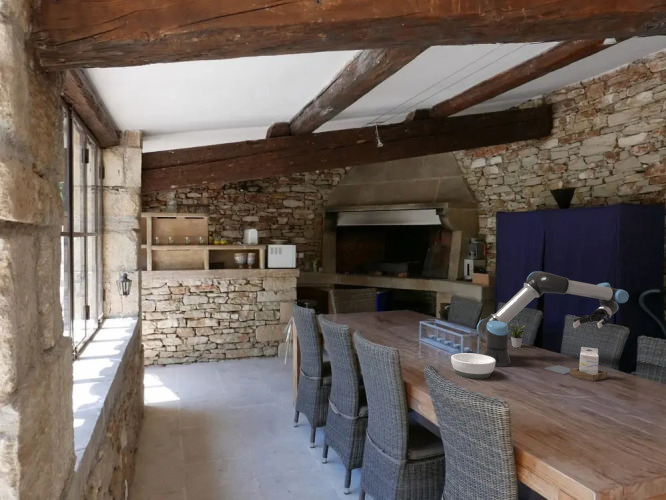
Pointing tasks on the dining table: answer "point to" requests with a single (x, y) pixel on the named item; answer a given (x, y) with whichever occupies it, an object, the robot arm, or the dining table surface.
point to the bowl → (473, 365)
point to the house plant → (516, 336)
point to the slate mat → (559, 369)
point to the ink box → (589, 360)
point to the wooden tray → (588, 375)
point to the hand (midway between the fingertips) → (585, 325)
